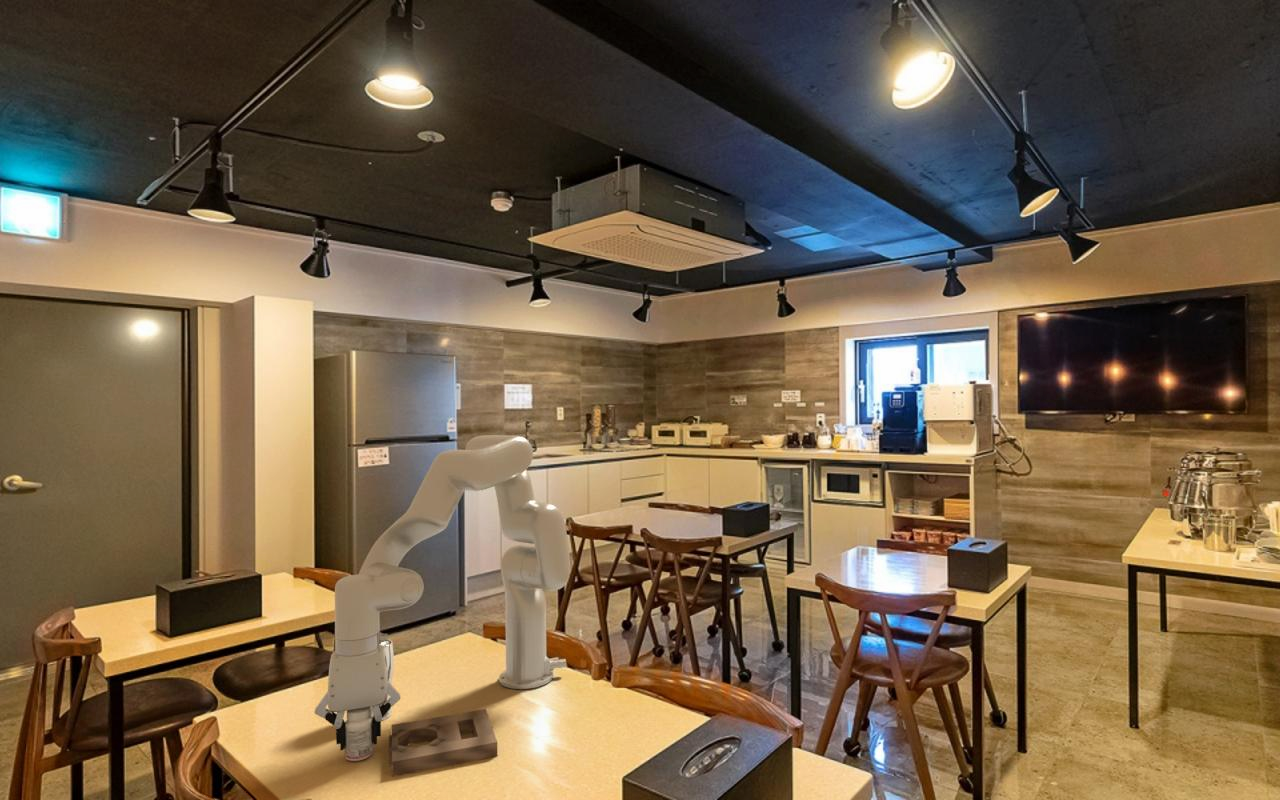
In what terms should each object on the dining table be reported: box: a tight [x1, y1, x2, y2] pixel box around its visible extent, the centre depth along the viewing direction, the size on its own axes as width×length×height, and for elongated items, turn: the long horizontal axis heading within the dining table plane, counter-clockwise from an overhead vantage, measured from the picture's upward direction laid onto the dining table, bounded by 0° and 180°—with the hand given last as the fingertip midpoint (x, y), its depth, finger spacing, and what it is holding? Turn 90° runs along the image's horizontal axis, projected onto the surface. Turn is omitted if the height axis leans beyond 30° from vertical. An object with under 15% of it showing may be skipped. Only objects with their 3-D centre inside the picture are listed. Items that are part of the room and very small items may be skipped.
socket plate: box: [388, 708, 498, 777], centre depth 123 cm, size 18×15×2 cm
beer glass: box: [370, 638, 395, 721], centre depth 137 cm, size 7×7×15 cm
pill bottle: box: [344, 707, 374, 762], centre depth 120 cm, size 5×5×8 cm
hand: (359, 742), depth 120 cm, fingers closed on pill bottle, 4 cm apart
